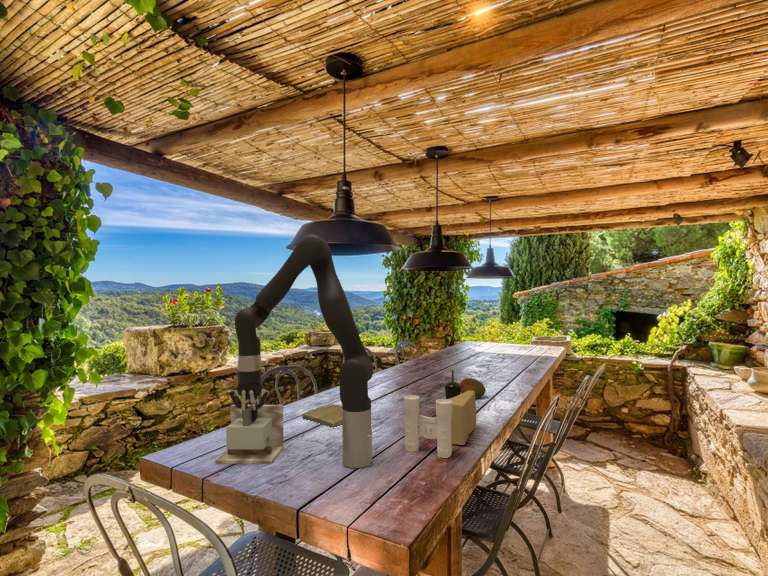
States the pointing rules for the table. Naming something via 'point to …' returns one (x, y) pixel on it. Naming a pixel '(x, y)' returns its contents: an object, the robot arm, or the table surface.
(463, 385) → the fruit
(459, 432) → the cheese
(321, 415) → the decorative tile
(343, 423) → the robot arm
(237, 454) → the wooden stand
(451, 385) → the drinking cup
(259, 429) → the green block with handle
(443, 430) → the binoculars
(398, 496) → the table surface
